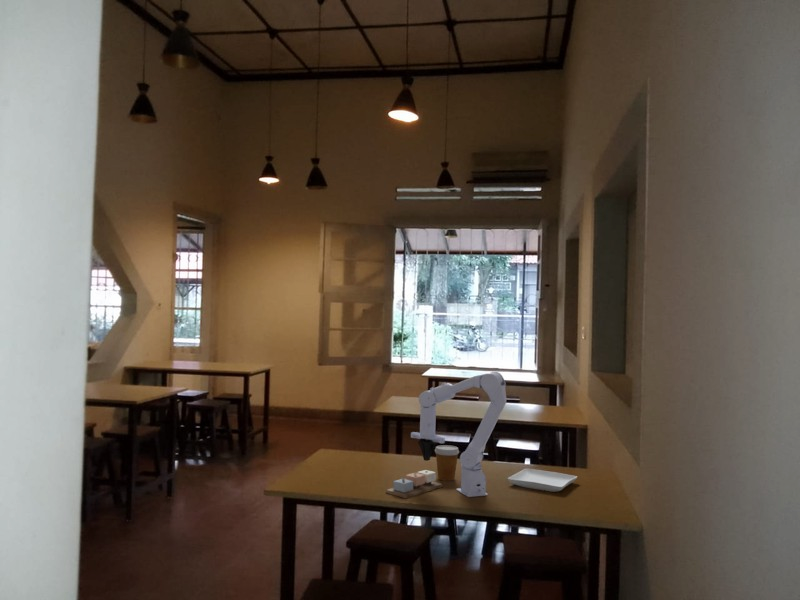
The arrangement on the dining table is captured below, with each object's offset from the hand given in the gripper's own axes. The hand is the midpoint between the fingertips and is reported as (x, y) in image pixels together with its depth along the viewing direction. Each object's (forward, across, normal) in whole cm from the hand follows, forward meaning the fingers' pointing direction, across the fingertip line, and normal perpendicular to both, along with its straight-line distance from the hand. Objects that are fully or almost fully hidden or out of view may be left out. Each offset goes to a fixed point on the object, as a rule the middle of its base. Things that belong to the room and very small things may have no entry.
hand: (426, 460), depth 233 cm
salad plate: (+10, +29, +35) cm, 47 cm away
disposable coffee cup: (+10, -2, +14) cm, 18 cm away
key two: (+7, 0, -6) cm, 10 cm away
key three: (+8, 0, -13) cm, 15 cm away
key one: (+7, 0, 0) cm, 7 cm away
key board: (+10, 0, -6) cm, 12 cm away
